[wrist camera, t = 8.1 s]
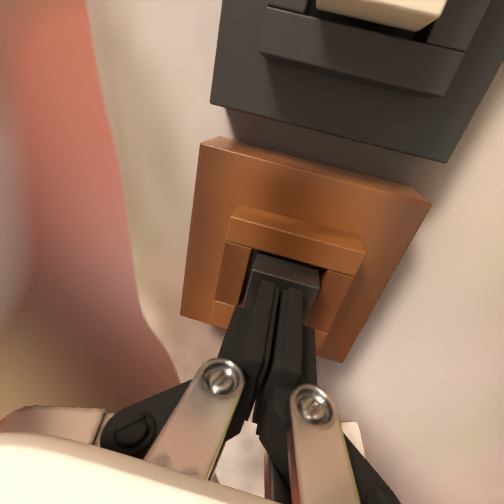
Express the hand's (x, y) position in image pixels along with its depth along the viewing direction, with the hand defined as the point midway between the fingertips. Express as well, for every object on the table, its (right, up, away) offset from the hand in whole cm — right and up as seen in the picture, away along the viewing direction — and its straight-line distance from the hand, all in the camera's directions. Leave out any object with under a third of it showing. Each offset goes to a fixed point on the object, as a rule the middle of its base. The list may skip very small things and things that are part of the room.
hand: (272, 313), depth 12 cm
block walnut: (+1, +3, +5) cm, 6 cm away
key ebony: (0, +1, +1) cm, 2 cm away
